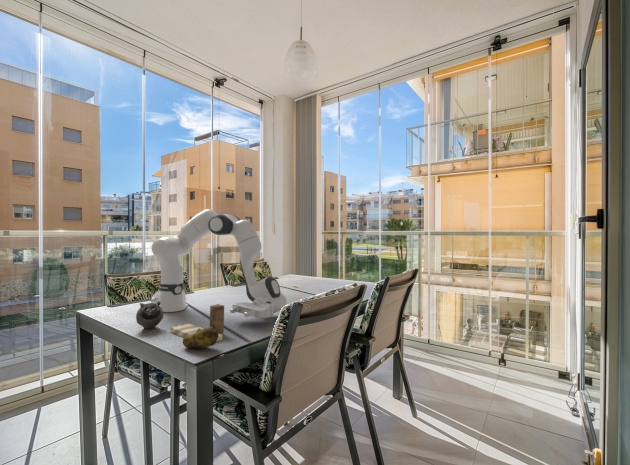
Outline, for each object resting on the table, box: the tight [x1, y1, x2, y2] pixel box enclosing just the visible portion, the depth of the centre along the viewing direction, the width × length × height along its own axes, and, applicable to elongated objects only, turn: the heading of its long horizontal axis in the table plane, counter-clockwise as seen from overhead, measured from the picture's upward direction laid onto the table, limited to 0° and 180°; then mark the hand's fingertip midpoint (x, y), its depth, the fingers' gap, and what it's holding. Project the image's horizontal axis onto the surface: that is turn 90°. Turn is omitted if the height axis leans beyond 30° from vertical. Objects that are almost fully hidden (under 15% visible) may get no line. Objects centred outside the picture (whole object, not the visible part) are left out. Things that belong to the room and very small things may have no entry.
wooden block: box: [197, 303, 225, 335], centre depth 130 cm, size 4×11×12 cm, turn 145°
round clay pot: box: [135, 301, 164, 333], centre depth 136 cm, size 10×12×10 cm
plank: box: [169, 322, 224, 342], centre depth 131 cm, size 24×8×2 cm, turn 55°
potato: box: [182, 327, 218, 350], centre depth 117 cm, size 8×13×8 cm, turn 60°
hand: (238, 312), depth 142 cm, fingers open, 8 cm apart
